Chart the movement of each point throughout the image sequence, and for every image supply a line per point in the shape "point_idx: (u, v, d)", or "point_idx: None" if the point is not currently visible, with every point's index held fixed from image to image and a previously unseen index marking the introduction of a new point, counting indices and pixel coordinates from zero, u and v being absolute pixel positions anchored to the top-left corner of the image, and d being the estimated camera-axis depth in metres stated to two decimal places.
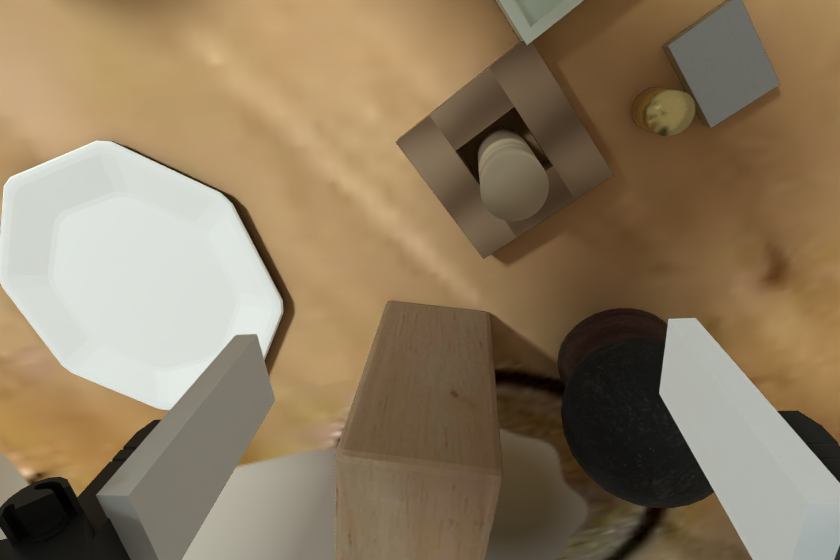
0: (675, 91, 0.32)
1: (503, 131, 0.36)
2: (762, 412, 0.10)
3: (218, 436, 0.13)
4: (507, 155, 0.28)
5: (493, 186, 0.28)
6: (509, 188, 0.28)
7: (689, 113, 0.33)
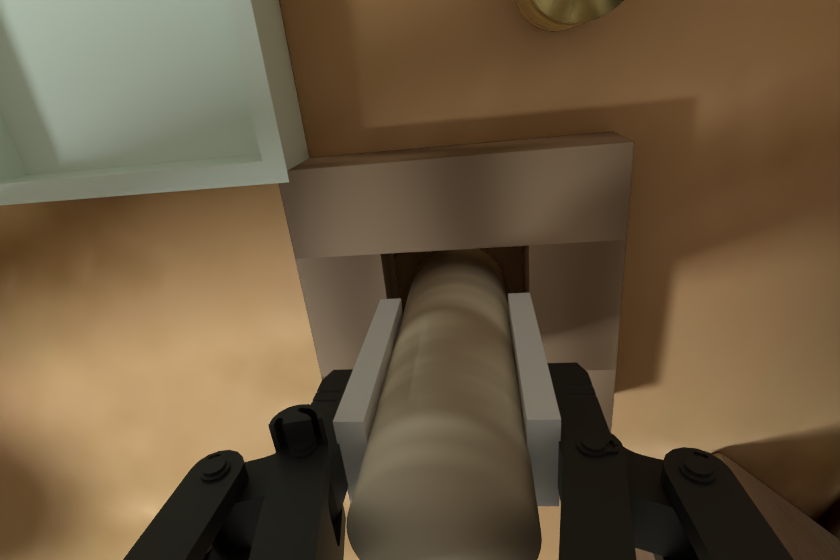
0: None
1: (411, 289, 0.18)
2: (534, 360, 0.13)
3: None
4: (351, 502, 0.10)
5: None
6: (432, 544, 0.10)
7: None
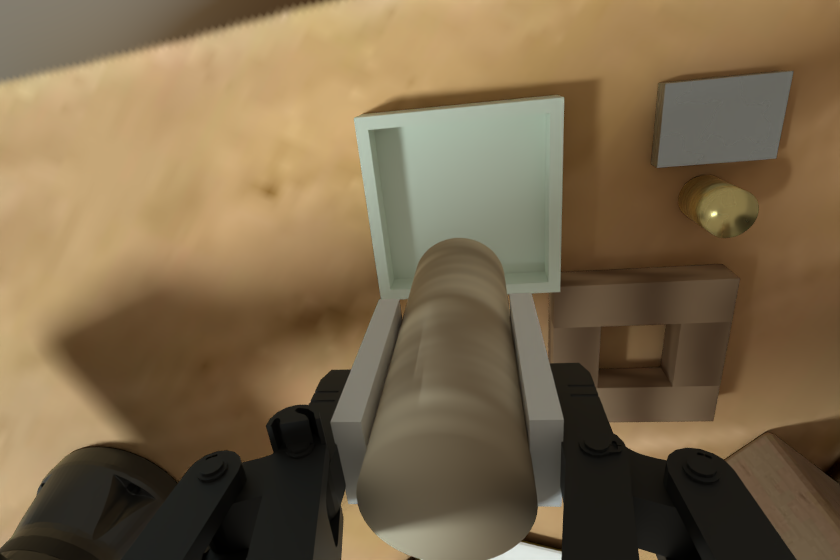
0: (711, 202, 0.28)
1: (414, 280, 0.19)
2: (536, 360, 0.13)
3: None
4: (360, 471, 0.11)
5: (410, 531, 0.11)
6: (436, 509, 0.11)
7: (745, 197, 0.28)
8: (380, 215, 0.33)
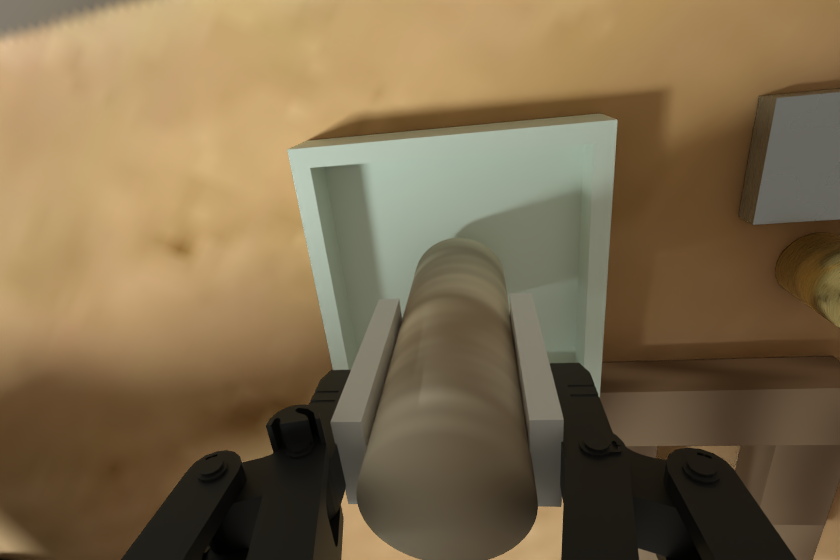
0: None
1: (414, 280, 0.19)
2: (536, 360, 0.13)
3: None
4: (360, 471, 0.11)
5: (410, 531, 0.11)
6: (436, 509, 0.11)
7: None
8: (334, 290, 0.22)
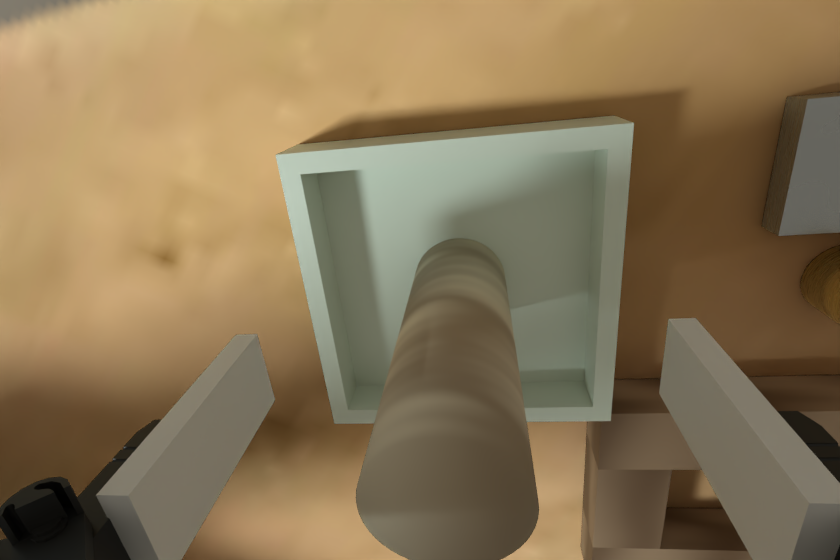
0: None
1: (414, 281, 0.19)
2: (762, 412, 0.10)
3: (218, 436, 0.13)
4: (360, 474, 0.11)
5: (410, 535, 0.11)
6: (437, 513, 0.11)
7: None
8: (328, 304, 0.21)
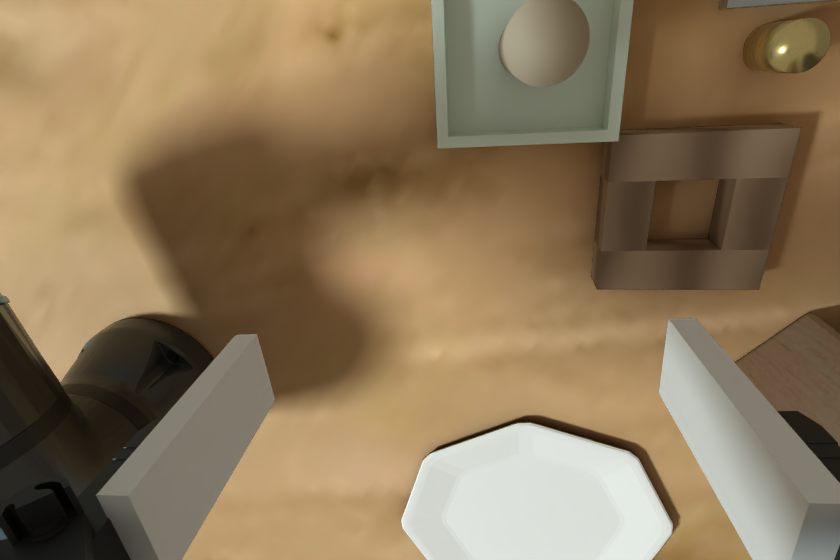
0: (783, 32, 0.29)
1: None
2: (762, 412, 0.10)
3: (218, 436, 0.13)
4: (507, 27, 0.23)
5: (526, 64, 0.23)
6: (541, 47, 0.23)
7: (818, 27, 0.28)
8: (445, 53, 0.33)
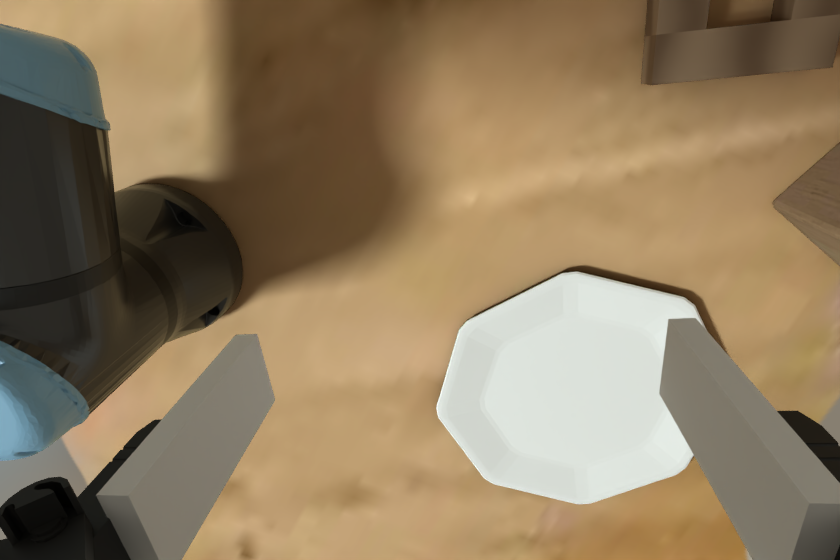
0: None
1: None
2: (762, 412, 0.10)
3: (218, 436, 0.13)
4: None
5: None
6: None
7: None
8: None
